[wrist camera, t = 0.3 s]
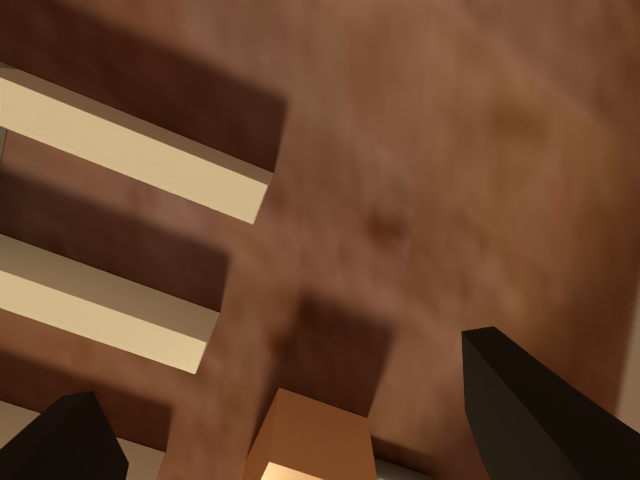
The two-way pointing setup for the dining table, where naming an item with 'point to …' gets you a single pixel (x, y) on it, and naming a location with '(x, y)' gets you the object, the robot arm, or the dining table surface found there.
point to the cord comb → (99, 286)
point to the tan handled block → (317, 445)
